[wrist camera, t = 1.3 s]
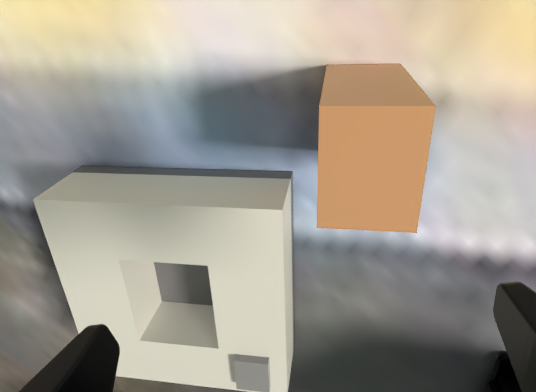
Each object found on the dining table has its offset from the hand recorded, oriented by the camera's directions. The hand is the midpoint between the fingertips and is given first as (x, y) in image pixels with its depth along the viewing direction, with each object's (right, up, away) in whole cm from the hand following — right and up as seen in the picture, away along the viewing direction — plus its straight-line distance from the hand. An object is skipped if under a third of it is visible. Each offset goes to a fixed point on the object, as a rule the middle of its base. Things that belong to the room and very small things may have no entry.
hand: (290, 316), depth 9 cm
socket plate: (-5, -1, +17) cm, 18 cm away
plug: (+4, +7, +11) cm, 14 cm away
